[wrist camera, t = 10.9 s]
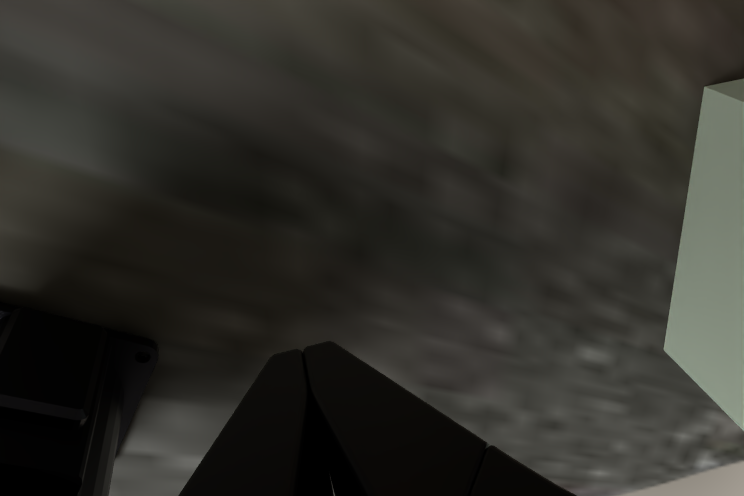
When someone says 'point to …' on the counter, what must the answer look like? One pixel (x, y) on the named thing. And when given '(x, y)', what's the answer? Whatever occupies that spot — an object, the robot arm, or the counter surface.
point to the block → (713, 256)
